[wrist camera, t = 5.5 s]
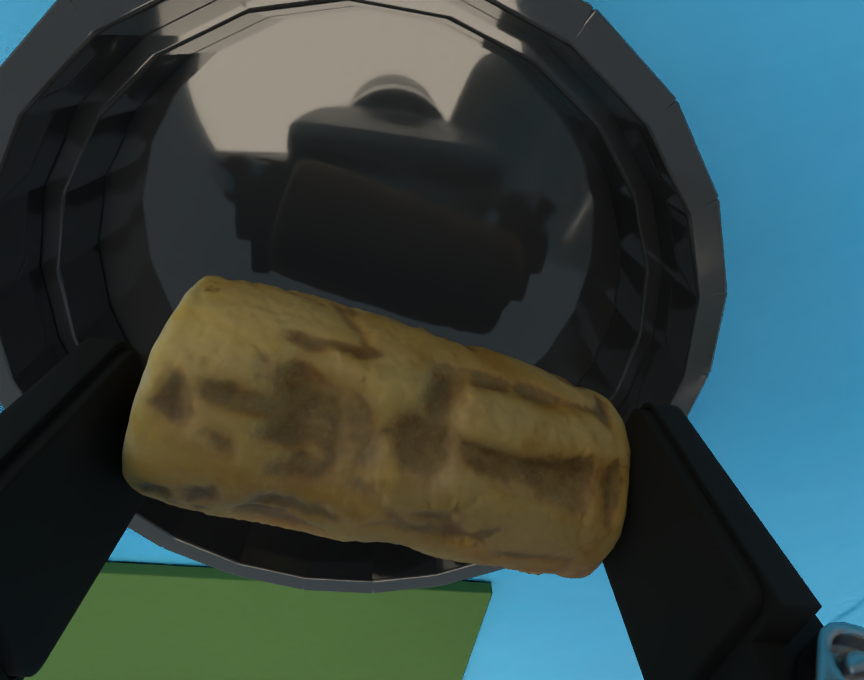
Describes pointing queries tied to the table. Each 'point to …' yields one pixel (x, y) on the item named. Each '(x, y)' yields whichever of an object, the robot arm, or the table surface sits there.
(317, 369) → the carved stone cylinder
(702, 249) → the pan
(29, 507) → the robot arm
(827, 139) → the table surface
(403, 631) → the green mat
